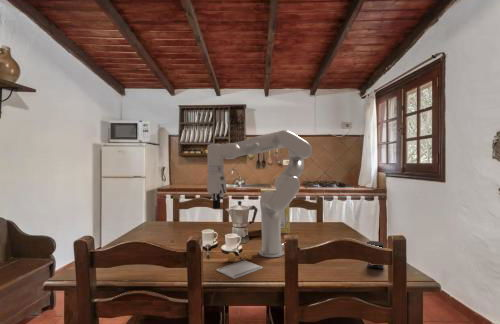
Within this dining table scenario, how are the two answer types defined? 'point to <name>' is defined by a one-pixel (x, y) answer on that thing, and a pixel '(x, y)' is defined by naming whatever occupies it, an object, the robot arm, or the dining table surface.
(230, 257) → the figurine
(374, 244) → the supplement container
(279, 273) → the dining table surface
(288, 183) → the robot arm
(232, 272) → the mat
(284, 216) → the pasta box
